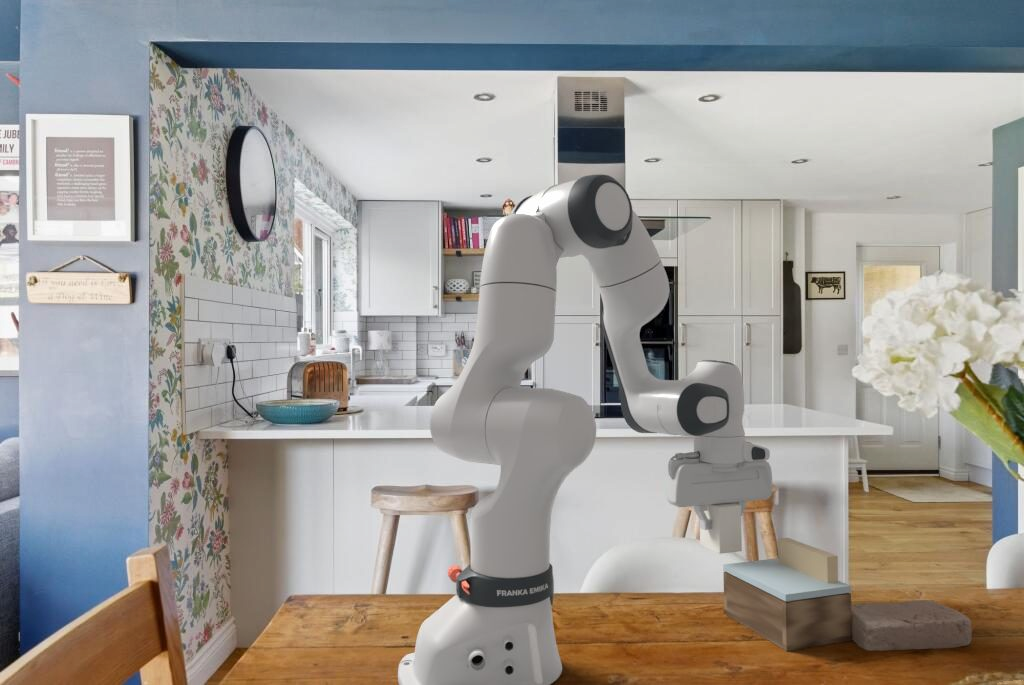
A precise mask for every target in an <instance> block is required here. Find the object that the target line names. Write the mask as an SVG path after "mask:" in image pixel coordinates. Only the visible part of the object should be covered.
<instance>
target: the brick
mask: <svg viewBox="0 0 1024 685" xmlns="http://www.w3.org/2000/svg"><path fill="white" fill-rule="evenodd" d="M851 627H852V640H851V641H853V642H854V643H855V644H856V645H857V646H858V647H860V648H861V649H863V650H865V651H870V652H873V651H877V652H882V651H884V652H885V651H892V650H899V651H901V650H903V651H905V650H925V649H926V650H927V649H951V648H952V649H954V648H960V647H964V646H965V647H966V646H968V645H970V644H971V643H972V633H973V628H972V620H971V619H970V617H968V616H967V615H965V614H964V613H962V612H961V611H958V610H956V609H953V608H951V607H950V606H946V605H943V604H942V603H938V602H937V601H935V600H934V599H932V600H930V599H929V600H927V599H926V600H925V599H924V600H923V599H921V600H920V599H919V600H910V601H909V600H908V601H901V602H897V603H894V602H892V603H890V602H889V603H888V602H887V603H886V602H885V603H882V602H881V603H879V602H878V603H877V602H875V603H874V602H872V603H871V602H867V603H866V602H863V603H858V604H857V603H851Z"/></svg>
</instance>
